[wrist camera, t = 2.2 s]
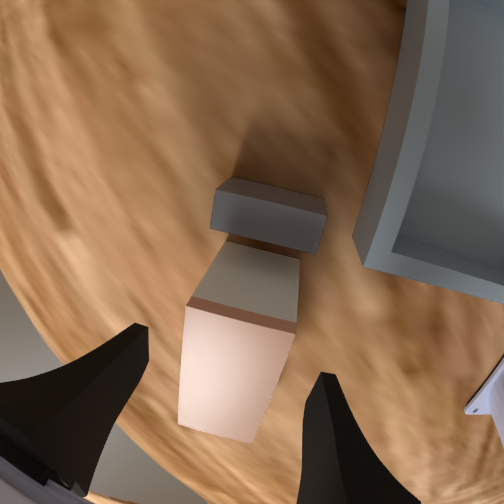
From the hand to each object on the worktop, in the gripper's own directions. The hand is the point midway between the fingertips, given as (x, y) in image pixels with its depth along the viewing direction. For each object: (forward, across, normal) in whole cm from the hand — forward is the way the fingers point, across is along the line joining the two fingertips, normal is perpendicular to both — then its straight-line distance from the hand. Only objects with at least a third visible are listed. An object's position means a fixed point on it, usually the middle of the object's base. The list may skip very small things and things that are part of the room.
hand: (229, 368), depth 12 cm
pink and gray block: (+4, 0, 0) cm, 4 cm away
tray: (+4, -9, -12) cm, 16 cm away
